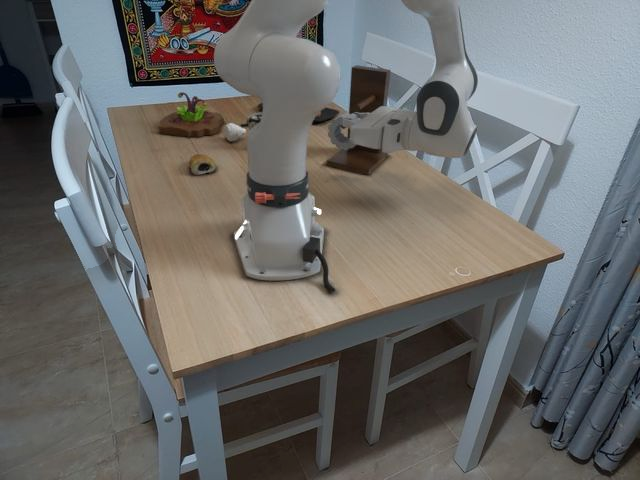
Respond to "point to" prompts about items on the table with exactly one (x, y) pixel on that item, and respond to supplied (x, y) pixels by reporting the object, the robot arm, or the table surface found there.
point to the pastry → (201, 164)
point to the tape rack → (364, 98)
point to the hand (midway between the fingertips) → (348, 119)
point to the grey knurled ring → (336, 134)
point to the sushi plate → (321, 116)
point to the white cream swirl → (233, 132)
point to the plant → (191, 120)
